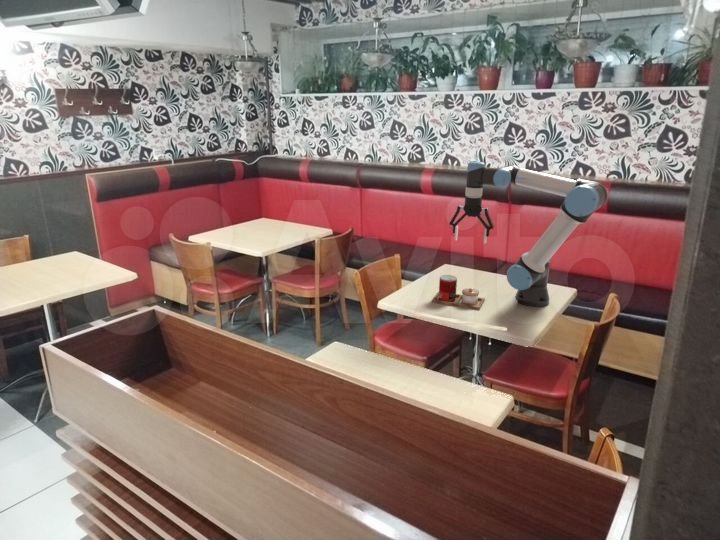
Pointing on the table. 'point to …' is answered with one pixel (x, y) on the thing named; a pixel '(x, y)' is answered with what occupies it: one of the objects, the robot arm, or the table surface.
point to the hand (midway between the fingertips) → (470, 241)
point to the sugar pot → (470, 296)
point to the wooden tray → (459, 302)
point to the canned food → (447, 288)
